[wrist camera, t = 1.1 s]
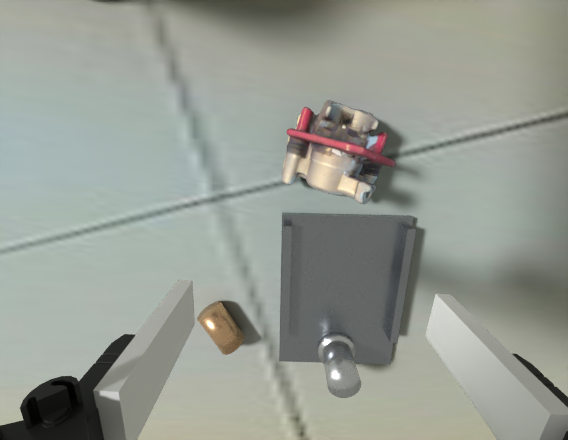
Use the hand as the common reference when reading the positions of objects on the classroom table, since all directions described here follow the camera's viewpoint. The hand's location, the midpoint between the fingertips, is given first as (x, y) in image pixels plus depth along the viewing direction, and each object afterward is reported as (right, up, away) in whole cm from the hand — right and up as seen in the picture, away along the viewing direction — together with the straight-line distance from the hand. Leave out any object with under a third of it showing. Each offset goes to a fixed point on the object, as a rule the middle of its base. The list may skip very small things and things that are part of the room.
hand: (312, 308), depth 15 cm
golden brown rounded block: (-10, -9, +24) cm, 28 cm away
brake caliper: (+4, +13, +17) cm, 22 cm away
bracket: (+6, -5, +22) cm, 24 cm away
